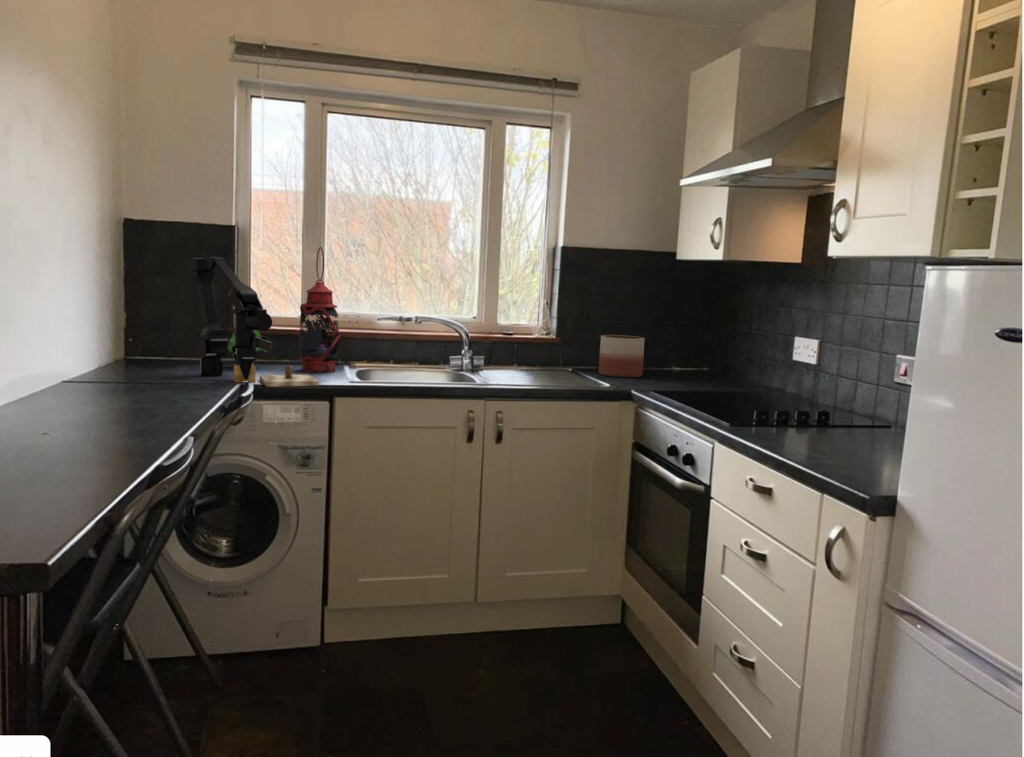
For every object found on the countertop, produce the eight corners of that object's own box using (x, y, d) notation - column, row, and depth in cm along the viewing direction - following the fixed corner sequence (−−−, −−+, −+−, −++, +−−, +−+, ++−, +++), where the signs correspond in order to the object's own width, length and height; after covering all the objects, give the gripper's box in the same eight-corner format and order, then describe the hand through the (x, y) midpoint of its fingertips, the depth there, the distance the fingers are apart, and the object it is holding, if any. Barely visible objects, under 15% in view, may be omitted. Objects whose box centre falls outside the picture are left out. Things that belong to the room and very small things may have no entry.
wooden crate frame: (235, 382, 244) (235, 367, 243) (233, 380, 249) (233, 364, 249) (255, 382, 247) (255, 366, 246) (253, 379, 252) (253, 364, 251)
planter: (642, 374, 319) (645, 336, 317) (642, 379, 301) (644, 339, 299) (599, 371, 322) (601, 334, 320) (596, 376, 304) (599, 336, 302)
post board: (266, 386, 239) (266, 369, 238) (259, 379, 253) (259, 363, 252) (318, 385, 245) (318, 368, 245) (308, 379, 260) (309, 362, 259)
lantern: (295, 368, 287) (296, 246, 281) (334, 367, 293) (336, 248, 287) (302, 373, 273) (304, 245, 267) (343, 373, 279) (346, 247, 273)
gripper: (275, 331, 241) (274, 380, 243) (266, 327, 258) (266, 373, 260) (237, 331, 236) (237, 381, 238) (231, 326, 253) (231, 373, 255)
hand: (244, 377), depth 248 cm, fingers open, 9 cm apart
